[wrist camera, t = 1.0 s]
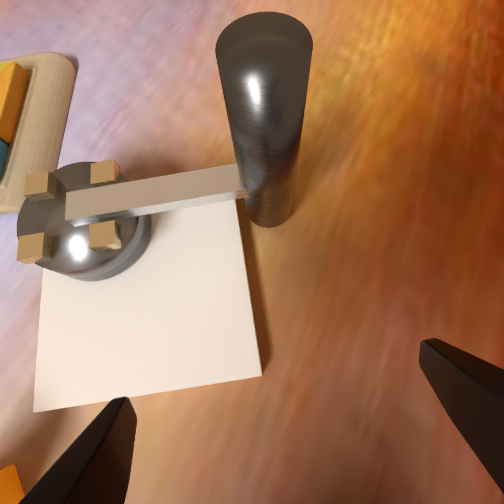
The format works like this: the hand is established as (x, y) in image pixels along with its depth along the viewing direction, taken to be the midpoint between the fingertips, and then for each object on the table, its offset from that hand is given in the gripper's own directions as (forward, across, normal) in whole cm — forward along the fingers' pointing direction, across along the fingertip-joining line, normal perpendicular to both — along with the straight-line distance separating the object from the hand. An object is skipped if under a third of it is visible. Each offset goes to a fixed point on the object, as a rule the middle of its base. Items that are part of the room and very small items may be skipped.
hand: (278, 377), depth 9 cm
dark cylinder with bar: (+16, +5, -1) cm, 17 cm away
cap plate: (+14, +8, +3) cm, 16 cm away
